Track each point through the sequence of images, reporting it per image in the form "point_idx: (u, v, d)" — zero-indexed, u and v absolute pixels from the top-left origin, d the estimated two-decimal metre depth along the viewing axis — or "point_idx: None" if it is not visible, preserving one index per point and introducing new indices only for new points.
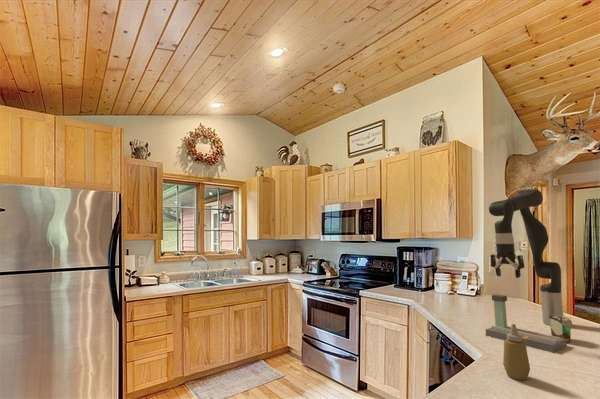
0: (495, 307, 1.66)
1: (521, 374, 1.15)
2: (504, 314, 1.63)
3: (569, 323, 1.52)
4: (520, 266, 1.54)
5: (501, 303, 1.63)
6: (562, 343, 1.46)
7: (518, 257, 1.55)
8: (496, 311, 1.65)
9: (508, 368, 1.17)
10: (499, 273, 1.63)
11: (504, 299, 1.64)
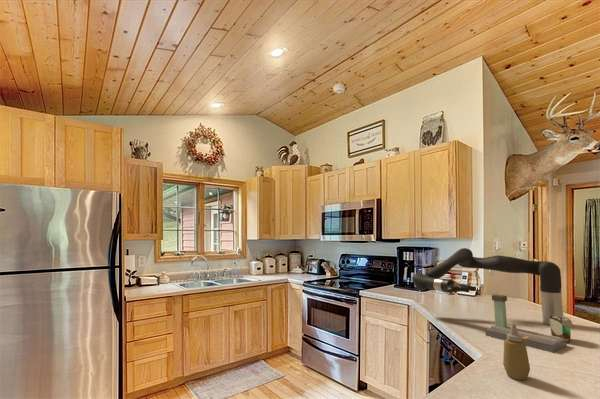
0: (495, 307, 1.66)
1: (521, 374, 1.15)
2: (504, 314, 1.63)
3: (569, 323, 1.52)
4: (456, 291, 1.79)
5: (501, 303, 1.63)
6: (562, 343, 1.46)
7: (449, 290, 1.82)
8: (496, 311, 1.65)
9: (508, 368, 1.17)
10: (473, 288, 1.80)
11: (504, 299, 1.64)
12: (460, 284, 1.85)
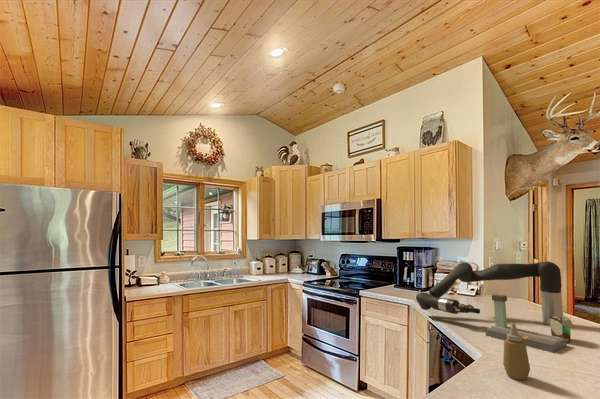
0: (495, 307, 1.66)
1: (521, 374, 1.15)
2: (504, 314, 1.63)
3: (569, 323, 1.52)
4: None
5: (501, 303, 1.63)
6: (562, 343, 1.46)
7: None
8: (496, 311, 1.65)
9: (508, 368, 1.17)
10: None
11: (504, 299, 1.64)
12: (464, 305, 1.81)
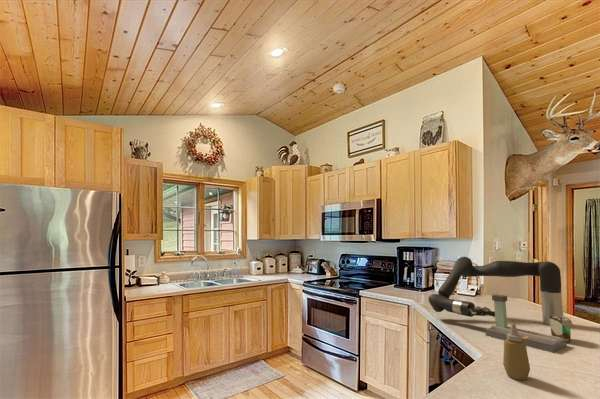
0: (495, 307, 1.66)
1: (521, 374, 1.15)
2: (504, 314, 1.63)
3: (569, 323, 1.52)
4: None
5: (501, 303, 1.63)
6: (562, 343, 1.46)
7: None
8: (496, 311, 1.65)
9: (508, 368, 1.17)
10: None
11: (504, 299, 1.63)
12: (480, 308, 1.74)
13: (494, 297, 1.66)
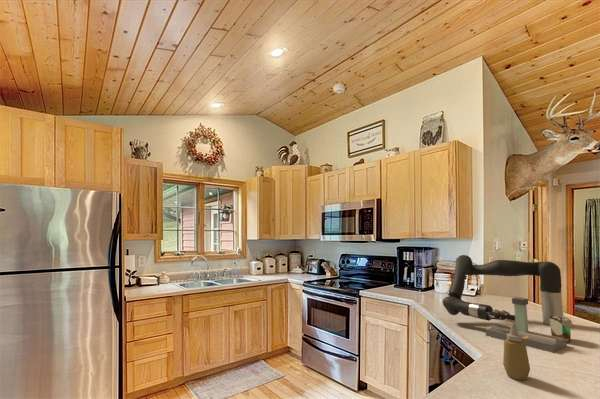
0: (515, 310, 1.58)
1: (521, 374, 1.15)
2: (525, 318, 1.55)
3: (569, 323, 1.52)
4: None
5: (522, 307, 1.56)
6: (562, 343, 1.46)
7: None
8: (517, 315, 1.57)
9: (508, 368, 1.17)
10: None
11: (525, 302, 1.56)
12: (499, 311, 1.66)
13: (514, 300, 1.58)
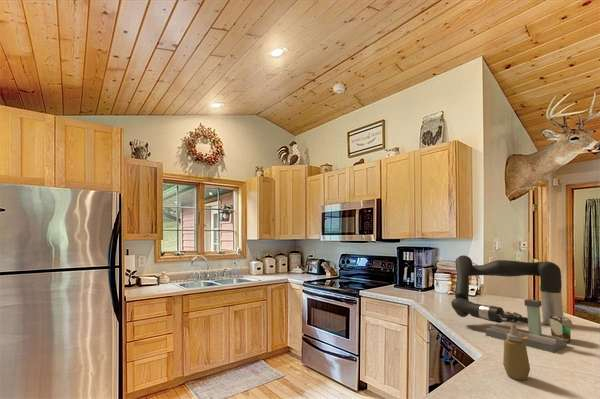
0: (528, 313, 1.53)
1: (521, 374, 1.15)
2: (539, 321, 1.51)
3: (569, 323, 1.52)
4: None
5: (535, 309, 1.51)
6: (562, 343, 1.46)
7: None
8: (529, 317, 1.53)
9: (508, 368, 1.17)
10: None
11: (539, 304, 1.51)
12: (510, 313, 1.62)
13: (527, 302, 1.53)
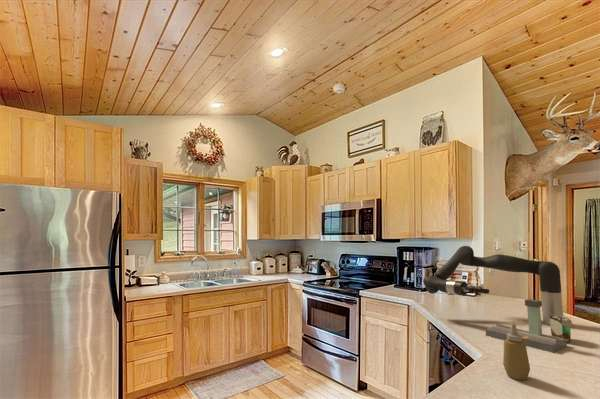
0: (528, 313, 1.53)
1: (521, 374, 1.15)
2: (539, 321, 1.51)
3: (569, 323, 1.52)
4: None
5: (536, 309, 1.51)
6: (562, 343, 1.46)
7: None
8: (530, 317, 1.53)
9: (508, 368, 1.17)
10: None
11: (539, 304, 1.51)
12: (473, 286, 1.79)
13: (527, 302, 1.53)
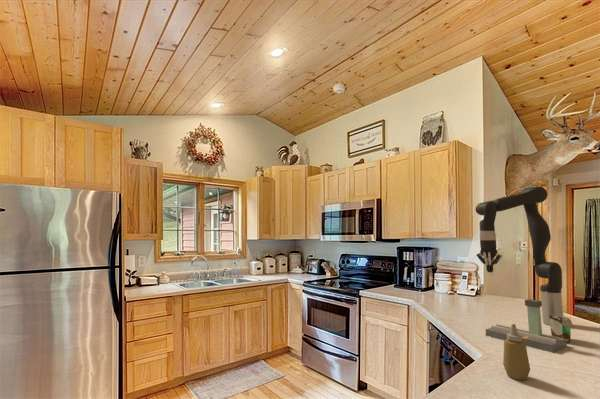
0: (528, 313, 1.53)
1: (521, 374, 1.15)
2: (539, 321, 1.51)
3: (569, 323, 1.52)
4: (493, 262, 1.75)
5: (536, 309, 1.51)
6: (562, 343, 1.46)
7: (498, 256, 1.74)
8: (530, 317, 1.53)
9: (508, 368, 1.17)
10: None
11: (539, 304, 1.51)
12: None
13: (527, 302, 1.53)
